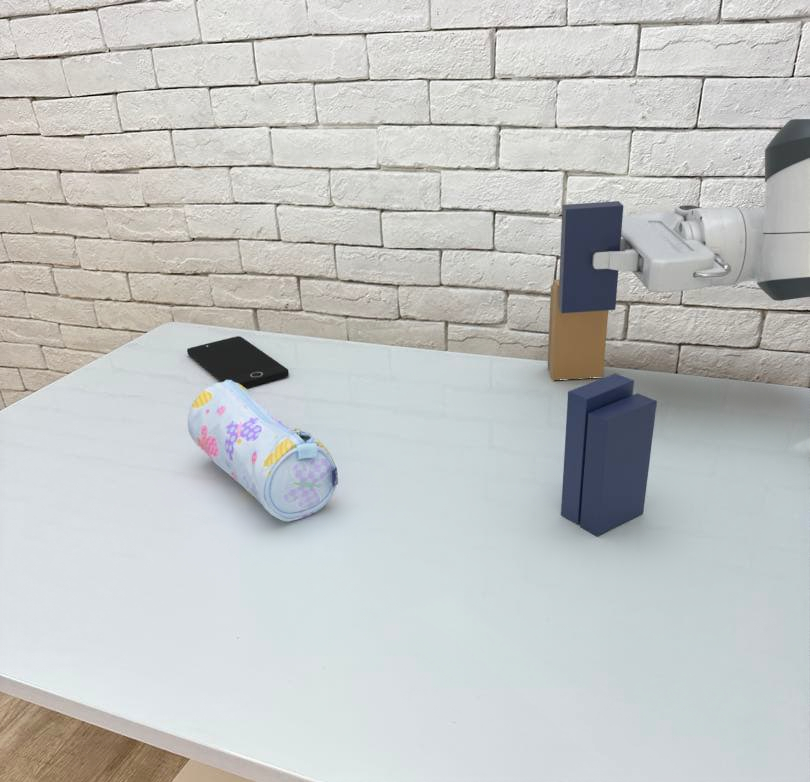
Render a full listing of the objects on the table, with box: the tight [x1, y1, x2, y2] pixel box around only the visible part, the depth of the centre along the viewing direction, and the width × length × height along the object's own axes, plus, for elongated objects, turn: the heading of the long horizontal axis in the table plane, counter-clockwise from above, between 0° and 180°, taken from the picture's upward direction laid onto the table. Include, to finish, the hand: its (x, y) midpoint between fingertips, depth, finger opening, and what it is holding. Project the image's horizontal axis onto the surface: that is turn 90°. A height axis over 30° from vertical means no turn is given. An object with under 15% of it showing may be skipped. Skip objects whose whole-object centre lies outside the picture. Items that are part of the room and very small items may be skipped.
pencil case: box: [187, 380, 339, 522], centre depth 93 cm, size 21×9×10 cm, turn 35°
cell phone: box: [186, 335, 290, 389], centre depth 125 cm, size 9×18×1 cm, turn 32°
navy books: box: [560, 372, 658, 537], centre depth 83 cm, size 7×5×14 cm
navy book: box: [558, 200, 624, 313], centre depth 101 cm, size 6×2×12 cm, turn 92°
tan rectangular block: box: [546, 279, 609, 380], centre depth 113 cm, size 7×5×13 cm
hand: (588, 255), depth 100 cm, fingers closed on navy book, 2 cm apart
